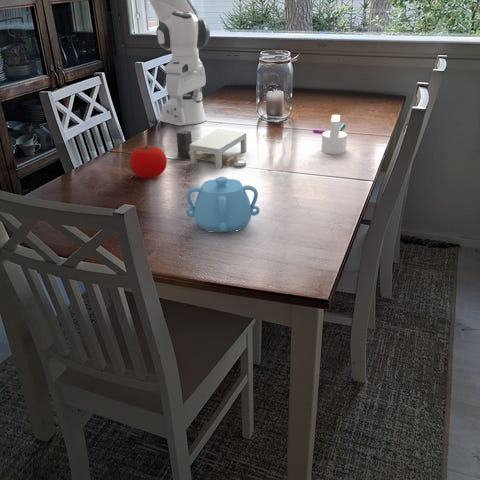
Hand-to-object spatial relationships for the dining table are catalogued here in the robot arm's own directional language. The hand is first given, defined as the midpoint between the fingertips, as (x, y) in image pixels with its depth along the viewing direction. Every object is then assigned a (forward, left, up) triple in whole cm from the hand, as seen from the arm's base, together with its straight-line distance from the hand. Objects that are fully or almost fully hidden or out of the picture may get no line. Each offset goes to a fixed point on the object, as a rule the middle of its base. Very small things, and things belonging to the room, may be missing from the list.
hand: (188, 104), depth 181 cm
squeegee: (+35, +45, -20) cm, 60 cm away
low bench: (+10, +3, -19) cm, 22 cm away
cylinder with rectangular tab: (+45, +28, -19) cm, 56 cm away
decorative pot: (+38, -43, -19) cm, 60 cm away
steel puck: (+20, -1, -19) cm, 28 cm away
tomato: (-2, -23, -19) cm, 30 cm away
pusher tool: (+7, -1, -19) cm, 20 cm away
